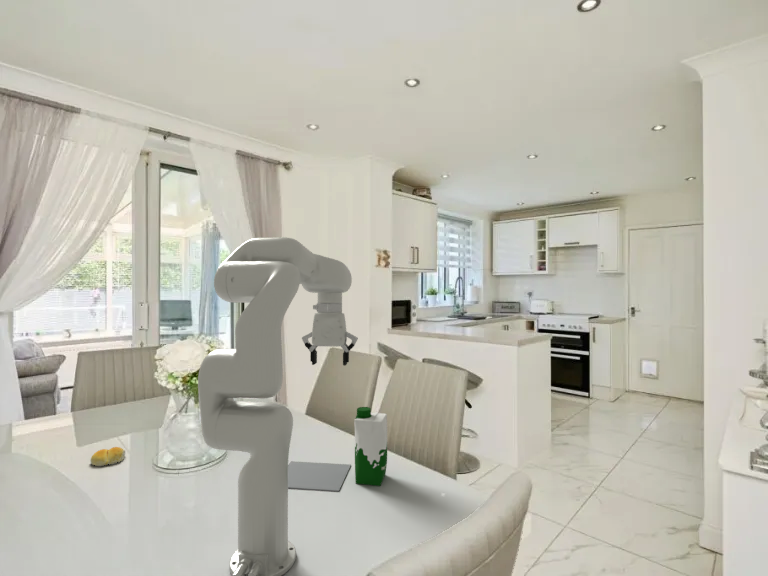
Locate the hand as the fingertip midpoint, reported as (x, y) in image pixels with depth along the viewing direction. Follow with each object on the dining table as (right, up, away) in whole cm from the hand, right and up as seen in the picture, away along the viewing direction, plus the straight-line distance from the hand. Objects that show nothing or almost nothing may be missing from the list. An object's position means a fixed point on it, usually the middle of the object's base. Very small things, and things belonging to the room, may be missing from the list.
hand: (329, 364), depth 124 cm
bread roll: (-70, -31, +3) cm, 77 cm away
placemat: (-4, -31, -7) cm, 32 cm away
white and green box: (+13, -31, -9) cm, 35 cm away
